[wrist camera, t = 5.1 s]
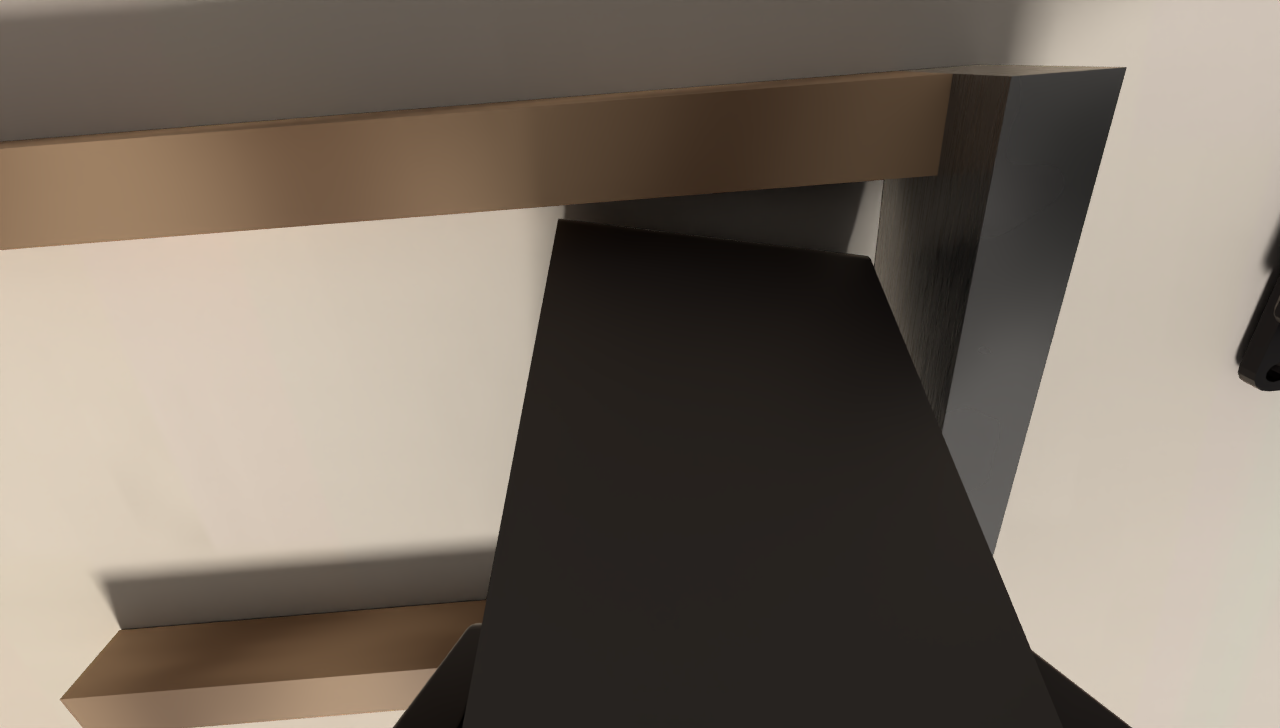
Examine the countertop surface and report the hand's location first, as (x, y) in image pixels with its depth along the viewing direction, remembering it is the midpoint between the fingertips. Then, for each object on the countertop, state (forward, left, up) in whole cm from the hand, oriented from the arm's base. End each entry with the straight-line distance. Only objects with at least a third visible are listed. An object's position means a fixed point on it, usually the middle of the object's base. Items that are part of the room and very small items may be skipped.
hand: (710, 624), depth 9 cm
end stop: (-5, 0, -6) cm, 8 cm away
